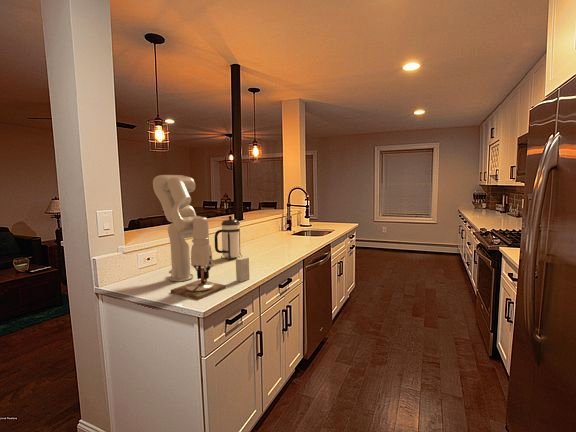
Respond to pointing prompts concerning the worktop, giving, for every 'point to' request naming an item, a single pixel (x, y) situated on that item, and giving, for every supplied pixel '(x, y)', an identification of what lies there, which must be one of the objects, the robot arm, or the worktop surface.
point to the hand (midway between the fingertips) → (203, 278)
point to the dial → (200, 284)
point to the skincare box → (242, 269)
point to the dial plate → (197, 295)
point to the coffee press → (229, 238)
